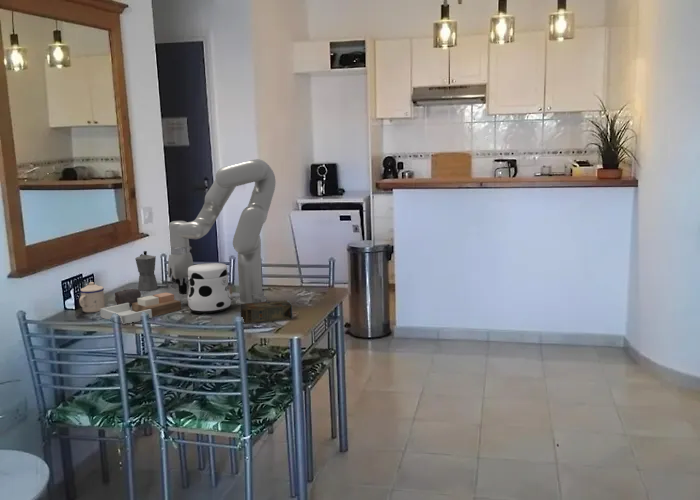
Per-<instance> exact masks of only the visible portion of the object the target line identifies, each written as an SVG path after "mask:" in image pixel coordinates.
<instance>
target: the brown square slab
mask: <svg viewBox="0 0 700 500" xmlns="http://www.w3.org/2000/svg"><path fill="white" fill-rule="evenodd" d="M131 309H132V311H135V312H139V311H144V310H148V309H151V311H152V318H153V317H157V316H160V315H165V314H170V313H173V312H174V313H175V312H178V310H179V311H182V302H181V300H176V299H174V300H173V301H169V302H164V303H159V304H155V305H151V306H146V307H145V306H142V305H138V302H135V303H132V305H131Z"/></svg>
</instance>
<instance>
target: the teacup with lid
mask: <svg viewBox="0 0 700 500" xmlns="http://www.w3.org/2000/svg"><path fill="white" fill-rule="evenodd" d="M104 290H105V289H104V286H101V285H97V284H96V283H95V282H93V281H91V282H88V284H87V285H86V286H85V287H82V288H80V291H79V292H80V297H79V300H78V301H79V306H80V307H81V308H82V312H84V313H97V312H100V309H101V308H105V307H106V306H105V304H106V303H105V295H104V294H105V293H104Z"/></svg>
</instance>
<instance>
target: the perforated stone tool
mask: <svg viewBox="0 0 700 500" xmlns="http://www.w3.org/2000/svg"><path fill="white" fill-rule="evenodd" d="M141 296H142V293H141V291H140V290H138V288H128V289H123V290H118V291H116V292H114V302H115V303H116V305H119V304H124V303H129V305H130V306H132V303H135V302H138V300H137V298H141Z"/></svg>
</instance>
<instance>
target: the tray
mask: <svg viewBox="0 0 700 500" xmlns="http://www.w3.org/2000/svg"><path fill="white" fill-rule="evenodd" d="M130 306H131V305H129V303H124V304H119V305H117V304H116V305H111V306H107V307H106V306H105V308H101V309H100V311H99V312H100V313H99V314H100V318H102V319H105V320H107V319H110V318H111V316H112V314H113V313H116V314H118V315H119V316H120V318H121V321H122V323H123V324H125V323H130V324H133V323H132V322H134V323H137V322H138V323H139V322H141V321H140V315H141V313H142V312H145V313H148V314H149V316H150V318H151V319H153V317H152V311H151V309H148V310H144V311H139V312H135V311H132V310H131V308H130Z"/></svg>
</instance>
